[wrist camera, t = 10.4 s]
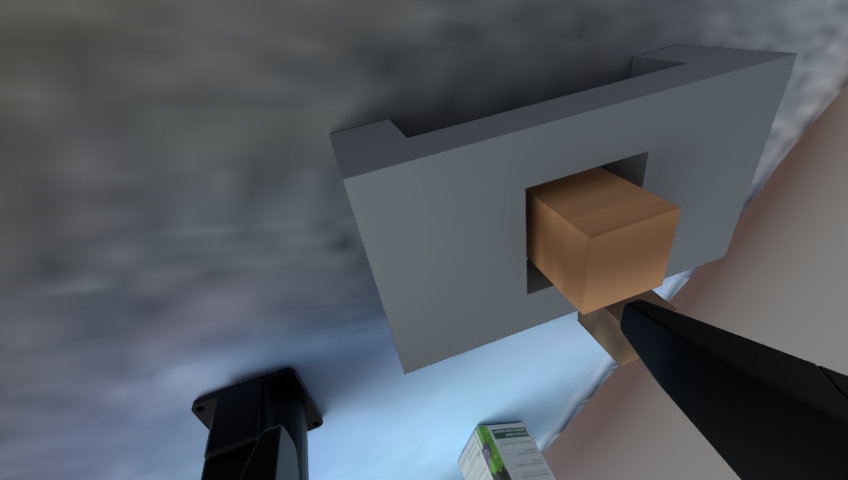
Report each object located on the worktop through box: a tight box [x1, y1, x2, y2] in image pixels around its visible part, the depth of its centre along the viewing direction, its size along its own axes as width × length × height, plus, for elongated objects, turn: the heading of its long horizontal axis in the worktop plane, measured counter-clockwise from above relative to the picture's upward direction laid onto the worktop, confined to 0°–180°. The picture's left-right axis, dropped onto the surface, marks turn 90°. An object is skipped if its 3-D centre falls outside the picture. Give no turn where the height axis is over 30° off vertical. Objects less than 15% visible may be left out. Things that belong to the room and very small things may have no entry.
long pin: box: [525, 166, 681, 315], centre depth 19 cm, size 4×4×9 cm
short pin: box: [578, 290, 677, 366], centre depth 28 cm, size 4×4×5 cm
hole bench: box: [329, 44, 797, 374], centre depth 20 cm, size 11×20×6 cm, turn 100°
